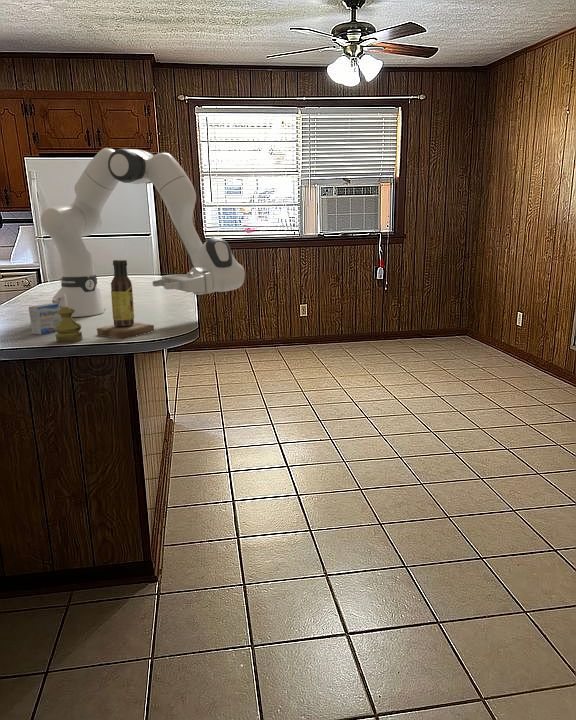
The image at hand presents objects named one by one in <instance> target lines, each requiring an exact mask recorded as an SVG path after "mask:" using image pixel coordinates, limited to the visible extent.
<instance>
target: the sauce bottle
mask: <svg viewBox="0 0 576 720" xmlns="http://www.w3.org/2000/svg"><path fill="white" fill-rule="evenodd" d="M112 265H113V271H114V273H113V278H112V280H111V283H110V286H111V287H110V289H111V291H110V292H111V294H110V295H111V306H112V319H113V325H115V326H130V325H133V324H134V323H135V321H134V320H135V309H134V308H135V307H134V295H133V284H132V281H131V279H130V278H129V276H128V269H127V268H128V267H127V265H128V262H127V259H113V260H112Z"/></svg>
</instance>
